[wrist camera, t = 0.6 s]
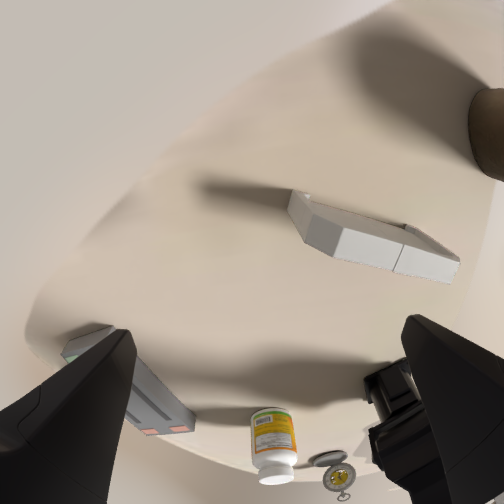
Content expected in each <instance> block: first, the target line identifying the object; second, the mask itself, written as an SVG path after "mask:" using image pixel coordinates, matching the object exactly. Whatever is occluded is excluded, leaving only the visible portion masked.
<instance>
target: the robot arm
mask: <svg viewBox="0 0 504 504" xmlns="http://www.w3.org/2000/svg"><path fill="white" fill-rule="evenodd" d="M401 341H402V345H403V348H404V351H405V354H406V357H407V359H405V360H403V361H401V362H399V363H397V364H395V365H392V366H390V367H388V368H386V369H384V370H382V371H379V372H377V373H375V374H373V375H370V376H368V377H366V378H365V379H364V380H363V381H364V386H365V391H366V396H367V401H368V403H369V404H371V403H374V406H375V408H376V411H377V413H378V416H379V418H380V421H381V424H379V425H377V426H375V427H372V428H370V429H369V435H368V436H369V440H370V445H371V450H372V462H373V464H376V465H378V467H379V468H380V469H381V471H385V475H386V477H387V478H388V479H389V480H391V481H392V482H394V483H395V484H397V485H398V486H400V487H402V488H403V489H405V490H407V491H408V492H409V494H410V497H411V500H412V504H485V503H487V502H488V501H490V500H492V499H494V500H495V501H494V502H493V503H492V504H504V359H502V358H501V357H499V356H496V355H495V354H493V353H491V352H490V351H488V350H486V349H484V348H482V347H480V346H478V345H477V344H475V343H473V342H471V341H469V340H467V339H466V338H464V337H462V336H460V335H458V334H456V333H454V332H452V331H450V330H449V329H447V328H445V327H443V326H441V325H439V324H437V323H435V322H433V321H431V320H429V319H428V318H426V317H424V316H422V315H420V314H415V315H410V316H408V317H407V319H406V322H405V325H404V328H403V331H402V334H401ZM136 358H137V349H136V346H135V343H134V340H133V338H132V335H131V332H130V331H129V330H127V329H116V330H115V331H113V332H112V333H111V334H109V335H108V336H106V337H105V338H104V339H102V340H101V341H99V342H98V343H97V344H95V345H94V346H92V347H91V348H90V349H88V350H87V351H85V352H84V353H83V354H81V355H80V356H79V357H77V358H76V359H74V360H73V361H72V362H70V363H69V364H67V365H66V366H65V367H63V368H62V369H61V370H59V371H58V372H56V373H55V374H54V375H52V376H51V377H50V378H48V379H47V380H45V381H44V382H43V383H42V384H41V385H39V386H37V387H36V388H35V389H33V390H32V391H31V392H29V393H28V394H26V395H25V396H24V397H22V398H20V399H19V400H17V401H16V402H14V403H13V404H11V405H9V406H8V407H6V408H4V409H3V410H2V411H0V504H107V498H108V492H109V486H110V481H111V475H112V470H113V465H114V460H115V455H116V451H117V446H118V442H119V438H120V433H121V429H122V425H123V421H124V417H125V413H126V409H127V405H128V402H129V398H130V393H131V388H132V381H133V375H134V369H135V363H136ZM411 374H412V377H413V379H414V382H415V384H414V382H413V380H412V379H411ZM415 385H416V386H415ZM416 387H417V388H416Z"/></svg>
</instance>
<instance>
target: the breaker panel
mask: <svg viewBox="0 0 504 504" xmlns="http://www.w3.org/2000/svg"><path fill="white" fill-rule="evenodd" d="M115 330H116V329H115V328H114V326H111V327H108V328H105V329H102V330H99V331H96V332H94V333H91V334H88V335H85V336H82V337H79V338H76V339H73V340H70V341H69V342H68V343H67V345H66V347H65V348H64V350H63V351H62V353H61V356H62V357H63V358H64V359H65V360H66V361H67V363H68V364H69V363H70V362H72V361H73V360H74V359H76V358H77V357H79V356H80V355H81V354H83V353H84V352H85V351H87V350H88V349H90V348H91V347H92V346H94V345H95V344H97V343H98V342H99V341H101V340H102V339H104V338H105V337H106V336H108V335H109V334H111V333H112V332H113V331H115ZM124 418H125V419H127V420H128V421H129V422H130V423H131V424H133V425H134V426H135V427H137V428H138V429H139V430H140V431H142V432H143V433H144V434H146V435H148V436H149V435H165V434H176V433H186V432H194V430H195V421H196V416H195V415H194V414H193V413H192V412H191V411H190V410H189V409H188V408H186V407H185V406H184V405H183V404H182V403H181V402H180V401H179V400H178V399H177V398H176V397H175V396H174V395H173V394H172V393H171V392H170V391H169V390H168V389H167V388H166V387H165V386H164V385H163V384H162V382H161V381H160V380H159V379H158V378H157V377H156V376H155V375H154V374H153V373H152V372H151V371H150V370H149V368H148V367H147V366H146V365H145V364H144V363H143V362H142V360H141V359H140V358H139V357H138V356H137V358H136V363H135V369H134V375H133V381H132V388H131V393H130V398H129V402H128V405H127V409H126V413H125V417H124Z"/></svg>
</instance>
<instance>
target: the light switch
mask: <svg viewBox="0 0 504 504" xmlns="http://www.w3.org/2000/svg"><path fill="white" fill-rule="evenodd" d="M309 198H310V194H308V193H304V192H301V191H297V190H292V194H291V197H290V201H289V204H288V208H287V212H288V213H289V215H290V217H291V219H292V221H293V222H294V224H295V226H296V228H297V230H298V232H299V233H300V235H301V237H302V239H303V241H304V243H306V244H308V245H310V246H312V247H314V248H316V249H318V250H319V251H321V252H323V253H325V254H327V255H329V256H331V257H333V258H337V259H341V260H346V261H350V262H355V263H359V264H364V265H368V266H372V267H377V268H381V269H385V270H390V271H392V272H395V273H399V274H403V275H408V276H416V277H420V278H424V279H428V280H433V281H437V282H441V283H445V284H449V285H450V284H451V282H452V280H453V278H454V276H455V274H456V271H457V269H458V267H459V265H460V258H459V257H458V256H456V255H455V254H454V253H452V252H451V251H450V250H448V249H447V248H445V247H444V246H443V245H441V244H440V243H438V242H437V241H435V240H434V239H433V238H431V237H430V236H428V235H427V234H425V233H424V232H422V231H421V230H419V229H418V228H416V227H414V226H411V225H408V224H406V226H405V228H404V229H402V228H399V227H396V226H393V225H390V224H387V223H384V222H380V221H377V220H374V219H371V218H368V217H364V216H361V215H358V214H354V213H351V212H348V211H344V210H341V209H337V208H334V207H330V206H327V205H323V204H319V203H316V202H312V201H309Z"/></svg>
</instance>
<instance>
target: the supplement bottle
mask: <svg viewBox="0 0 504 504" xmlns="http://www.w3.org/2000/svg"><path fill="white" fill-rule="evenodd" d="M251 449H252V463H253V465H254V466H255V467H256V468H257V469H260V471H259V473H258V476H259V482H260V483H262V484H267V485H276V484H283V483H287V482H290V481H292V480H293V479H294V473H293V468H292V467H291V466H293V465H294V464H295V463H296V461H297V450H296V443H295V436H294V429H293V423H292V417H291V414H290V413H289V412H288V411H286V410H284V409H280V408H268V409H263V410H260V411H258V412H256V413H254V414H253V415H252V417H251Z"/></svg>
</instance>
